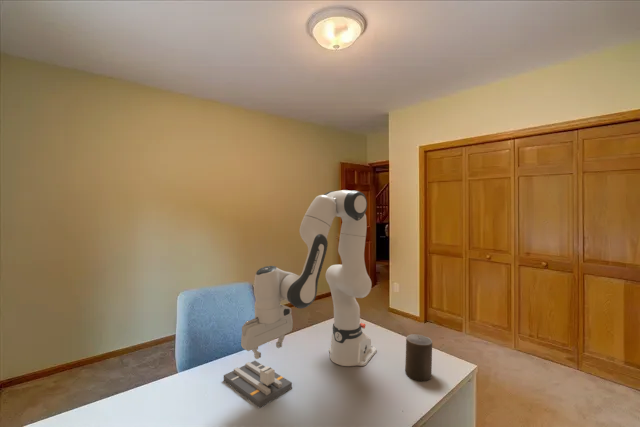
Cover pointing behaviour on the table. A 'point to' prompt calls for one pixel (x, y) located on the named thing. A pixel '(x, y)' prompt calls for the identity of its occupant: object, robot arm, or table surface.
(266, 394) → the slider console
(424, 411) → the table surface
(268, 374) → the fader knob
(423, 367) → the pillar candle
